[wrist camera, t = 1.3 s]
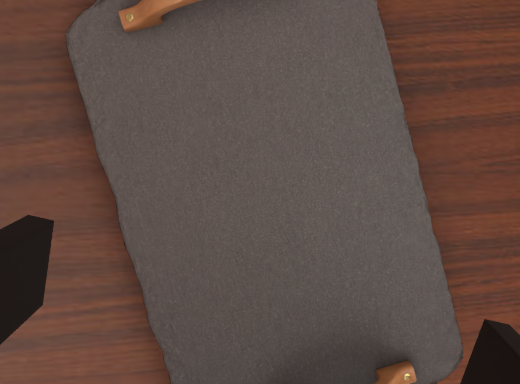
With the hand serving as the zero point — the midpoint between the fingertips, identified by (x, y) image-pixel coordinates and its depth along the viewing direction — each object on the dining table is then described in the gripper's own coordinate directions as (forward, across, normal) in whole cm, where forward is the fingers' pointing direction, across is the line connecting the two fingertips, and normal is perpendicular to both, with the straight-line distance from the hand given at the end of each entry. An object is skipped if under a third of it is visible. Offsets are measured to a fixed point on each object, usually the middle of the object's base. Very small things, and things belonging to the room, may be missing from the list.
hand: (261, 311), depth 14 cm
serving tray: (+24, +1, -2) cm, 24 cm away
